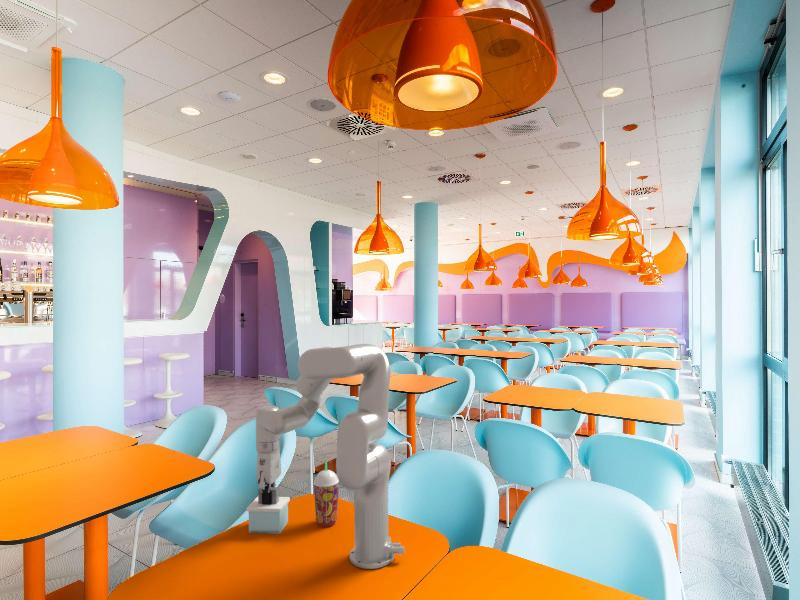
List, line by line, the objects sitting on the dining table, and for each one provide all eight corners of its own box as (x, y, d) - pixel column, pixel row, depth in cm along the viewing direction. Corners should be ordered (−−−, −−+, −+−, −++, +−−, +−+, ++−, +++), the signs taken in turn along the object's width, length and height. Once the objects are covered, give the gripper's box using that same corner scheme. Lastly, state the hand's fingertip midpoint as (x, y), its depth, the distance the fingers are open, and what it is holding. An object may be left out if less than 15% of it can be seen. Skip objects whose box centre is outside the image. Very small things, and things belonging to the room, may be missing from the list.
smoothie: (312, 519, 157) (311, 459, 157) (337, 516, 160) (336, 456, 160) (315, 530, 149) (314, 467, 149) (341, 526, 152) (340, 464, 152)
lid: (289, 502, 156) (289, 483, 156) (280, 514, 147) (280, 494, 147) (257, 501, 157) (257, 482, 157) (246, 513, 148) (246, 493, 148)
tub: (288, 522, 156) (287, 500, 156) (279, 533, 148) (279, 511, 148) (258, 521, 156) (258, 500, 157) (248, 532, 148) (248, 510, 149)
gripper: (270, 452, 144) (270, 513, 144) (287, 438, 160) (288, 492, 160) (246, 452, 145) (247, 512, 145) (266, 438, 161) (266, 492, 160)
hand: (268, 501), depth 152 cm, fingers closed on lid
